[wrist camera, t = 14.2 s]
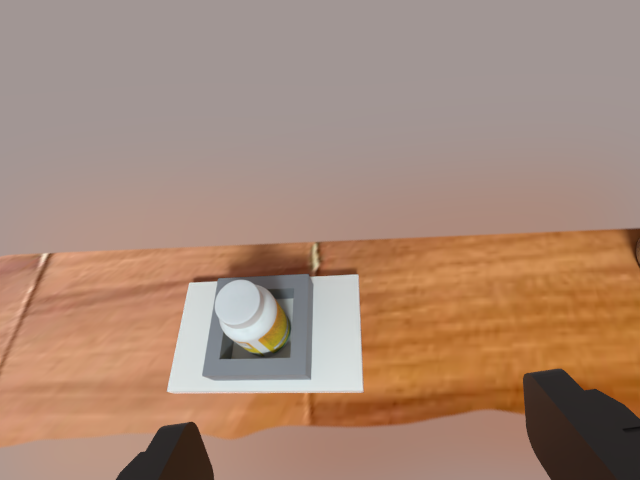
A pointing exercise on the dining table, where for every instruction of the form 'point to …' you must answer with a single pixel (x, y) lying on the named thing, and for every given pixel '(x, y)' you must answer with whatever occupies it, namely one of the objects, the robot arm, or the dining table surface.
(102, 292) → the dining table surface
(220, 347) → the collar board
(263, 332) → the supplement bottle
